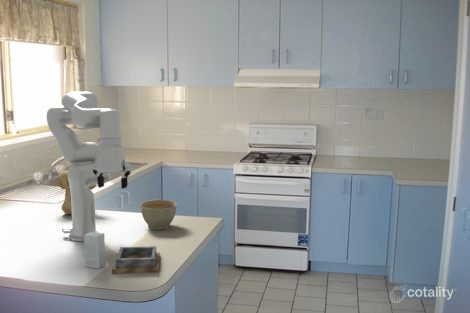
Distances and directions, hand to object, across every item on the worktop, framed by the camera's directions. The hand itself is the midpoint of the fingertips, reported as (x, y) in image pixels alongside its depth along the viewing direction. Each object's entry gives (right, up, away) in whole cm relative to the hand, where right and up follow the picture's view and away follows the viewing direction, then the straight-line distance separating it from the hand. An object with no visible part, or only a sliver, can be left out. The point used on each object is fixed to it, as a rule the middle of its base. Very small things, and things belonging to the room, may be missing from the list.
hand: (112, 187), depth 192 cm
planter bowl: (+12, -21, +40) cm, 46 cm away
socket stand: (+10, -28, -6) cm, 30 cm away
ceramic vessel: (-32, -17, +63) cm, 73 cm away
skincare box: (-5, -28, -7) cm, 30 cm away
